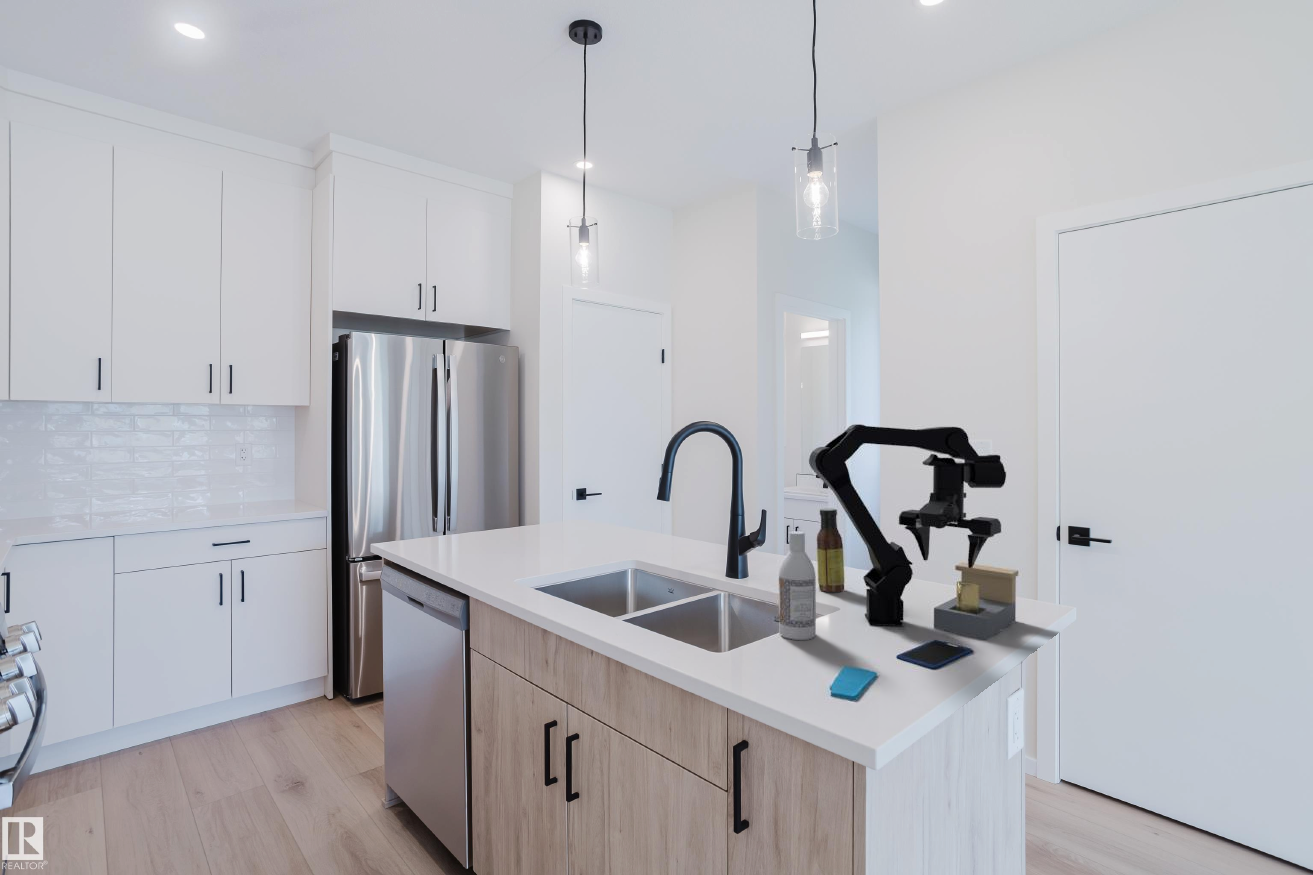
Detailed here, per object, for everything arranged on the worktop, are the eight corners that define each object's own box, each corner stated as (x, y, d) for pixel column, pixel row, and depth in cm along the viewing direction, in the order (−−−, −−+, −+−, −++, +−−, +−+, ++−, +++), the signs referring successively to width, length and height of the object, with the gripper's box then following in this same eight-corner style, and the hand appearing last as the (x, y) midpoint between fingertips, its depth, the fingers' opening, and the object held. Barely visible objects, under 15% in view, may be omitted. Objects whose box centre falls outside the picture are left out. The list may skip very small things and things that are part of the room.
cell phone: (975, 653, 117) (975, 649, 116) (934, 672, 108) (934, 668, 108) (935, 642, 122) (935, 638, 122) (894, 660, 114) (894, 655, 114)
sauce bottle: (847, 589, 160) (847, 508, 159) (839, 594, 155) (839, 511, 154) (822, 585, 164) (821, 506, 163) (813, 590, 158) (812, 509, 158)
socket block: (989, 640, 122) (990, 584, 122) (931, 627, 130) (931, 575, 130) (1018, 621, 133) (1018, 570, 133) (962, 610, 141) (962, 562, 141)
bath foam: (783, 627, 131) (783, 528, 130) (818, 631, 128) (818, 530, 127) (775, 638, 124) (774, 534, 124) (811, 643, 122) (811, 536, 121)
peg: (959, 626, 127) (960, 585, 127) (953, 620, 131) (954, 580, 131) (981, 627, 127) (982, 586, 126) (974, 621, 131) (975, 581, 130)
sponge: (816, 689, 100) (854, 694, 96) (842, 665, 109) (877, 668, 106) (818, 699, 100) (856, 704, 96) (843, 674, 109) (879, 677, 106)
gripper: (885, 487, 135) (885, 562, 135) (979, 494, 121) (978, 578, 121) (911, 483, 142) (911, 554, 143) (1002, 490, 128) (1001, 569, 129)
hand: (947, 563), depth 134 cm, fingers open, 9 cm apart
